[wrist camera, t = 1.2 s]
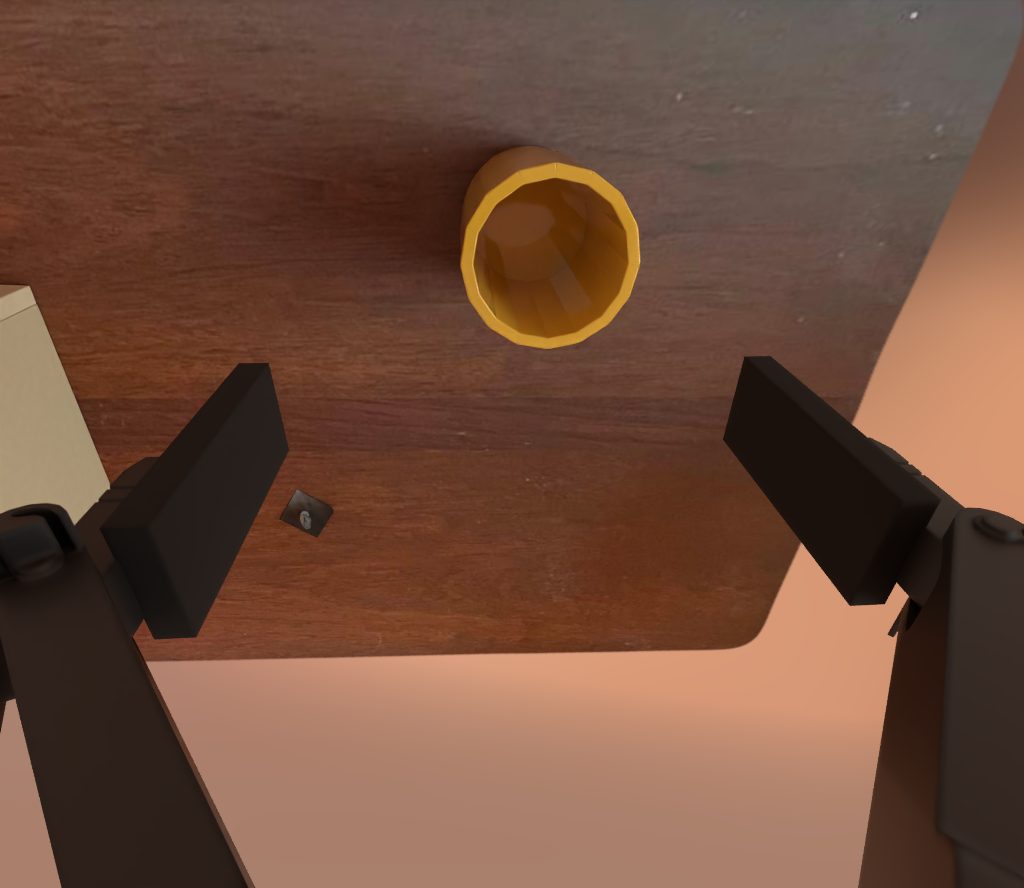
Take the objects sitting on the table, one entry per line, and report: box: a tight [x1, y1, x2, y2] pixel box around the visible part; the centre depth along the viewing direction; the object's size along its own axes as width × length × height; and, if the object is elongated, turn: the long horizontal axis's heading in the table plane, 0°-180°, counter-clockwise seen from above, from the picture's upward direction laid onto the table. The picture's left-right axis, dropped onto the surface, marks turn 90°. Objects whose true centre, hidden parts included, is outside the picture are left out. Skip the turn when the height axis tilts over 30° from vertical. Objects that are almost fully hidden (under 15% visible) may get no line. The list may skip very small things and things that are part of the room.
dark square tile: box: [280, 490, 333, 537], centre depth 38 cm, size 3×3×1 cm
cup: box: [460, 145, 640, 349], centre depth 25 cm, size 7×7×9 cm
